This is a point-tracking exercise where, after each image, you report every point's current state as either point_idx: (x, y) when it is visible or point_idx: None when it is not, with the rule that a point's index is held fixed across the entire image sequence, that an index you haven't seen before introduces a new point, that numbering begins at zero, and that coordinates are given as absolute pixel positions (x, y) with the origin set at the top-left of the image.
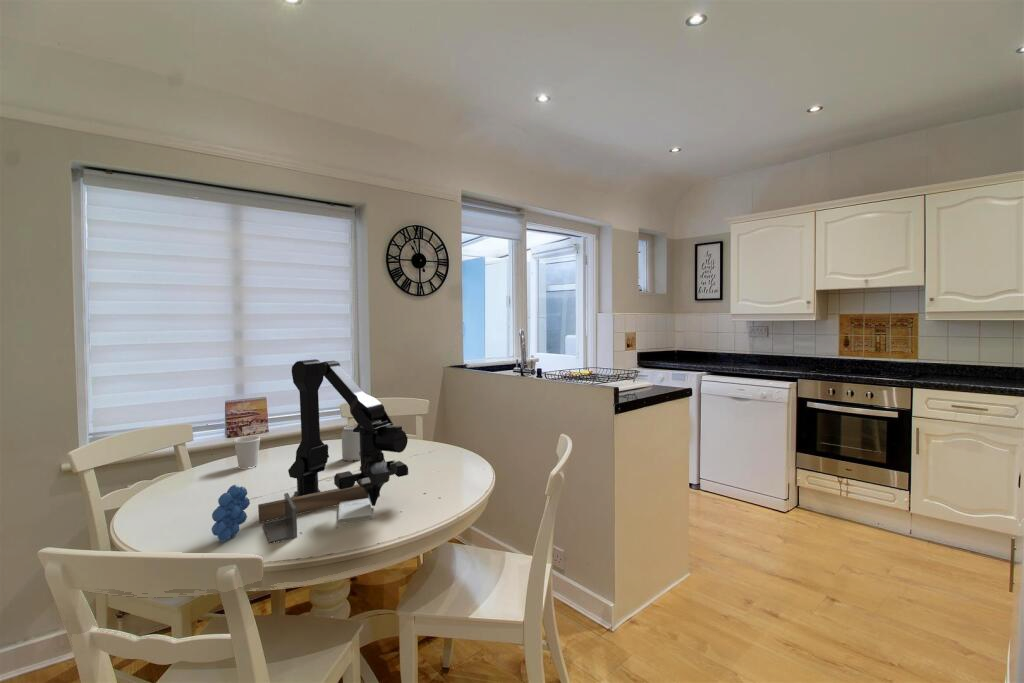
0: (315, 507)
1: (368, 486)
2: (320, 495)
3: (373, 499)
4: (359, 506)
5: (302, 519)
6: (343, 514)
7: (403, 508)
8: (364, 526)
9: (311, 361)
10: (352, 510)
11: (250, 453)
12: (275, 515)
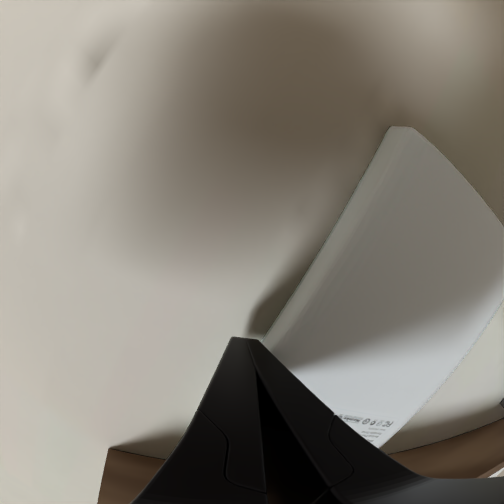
0: (428, 453)
1: (494, 491)
2: None
3: (266, 375)
4: (350, 379)
5: (495, 388)
6: (484, 311)
7: (44, 111)
8: (474, 70)
9: None
10: (427, 338)
11: None
12: (501, 427)
